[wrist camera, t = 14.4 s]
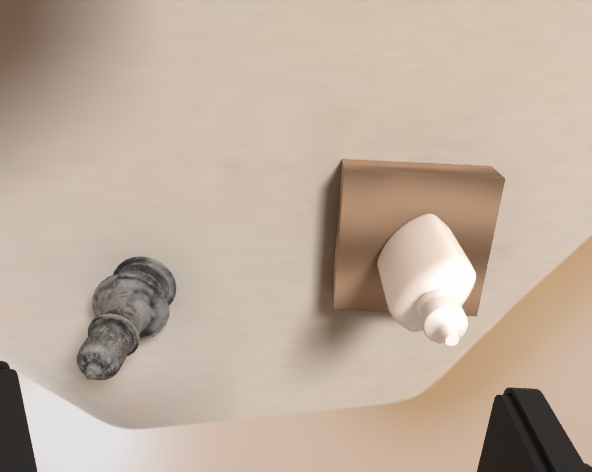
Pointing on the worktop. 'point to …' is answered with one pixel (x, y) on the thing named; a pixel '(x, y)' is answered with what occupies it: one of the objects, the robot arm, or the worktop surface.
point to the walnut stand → (402, 209)
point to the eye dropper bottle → (427, 279)
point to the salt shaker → (126, 315)
